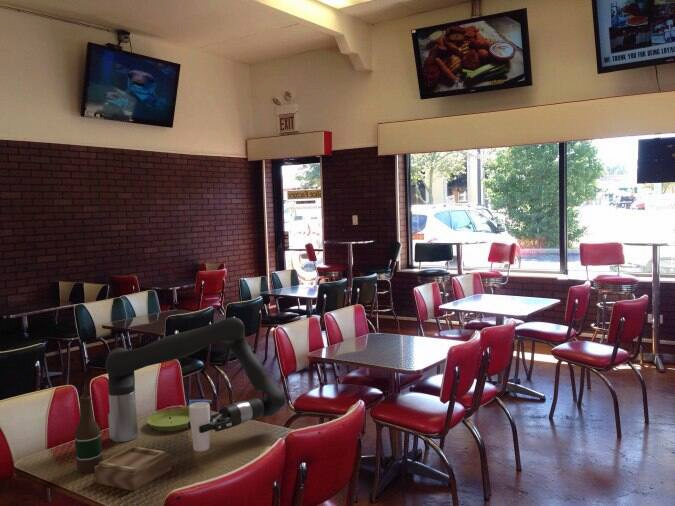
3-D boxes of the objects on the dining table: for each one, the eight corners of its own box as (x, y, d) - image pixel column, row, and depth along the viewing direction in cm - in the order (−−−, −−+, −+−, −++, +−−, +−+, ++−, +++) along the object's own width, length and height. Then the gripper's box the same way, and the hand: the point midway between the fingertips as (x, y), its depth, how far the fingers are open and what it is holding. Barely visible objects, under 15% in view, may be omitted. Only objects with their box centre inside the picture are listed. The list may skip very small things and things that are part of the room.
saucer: (173, 437, 219) (172, 429, 219) (135, 429, 230) (135, 421, 230) (212, 420, 236) (212, 412, 236) (176, 413, 247) (175, 405, 247)
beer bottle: (71, 472, 192) (66, 399, 190) (90, 462, 199) (85, 392, 197) (90, 475, 189) (84, 401, 187) (108, 465, 196) (103, 393, 194)
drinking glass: (206, 453, 194) (204, 408, 193) (187, 452, 196) (185, 408, 195) (215, 445, 201) (212, 402, 200) (196, 444, 202) (194, 401, 201)
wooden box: (95, 482, 183) (94, 463, 183) (133, 462, 197) (132, 444, 197) (134, 490, 176) (133, 471, 176) (171, 469, 191) (170, 450, 190)
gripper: (224, 399, 213) (182, 411, 201) (247, 407, 203) (205, 421, 191) (225, 420, 213) (183, 433, 202) (248, 429, 203) (206, 444, 191)
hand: (194, 427), depth 196 cm, fingers closed on drinking glass, 6 cm apart
